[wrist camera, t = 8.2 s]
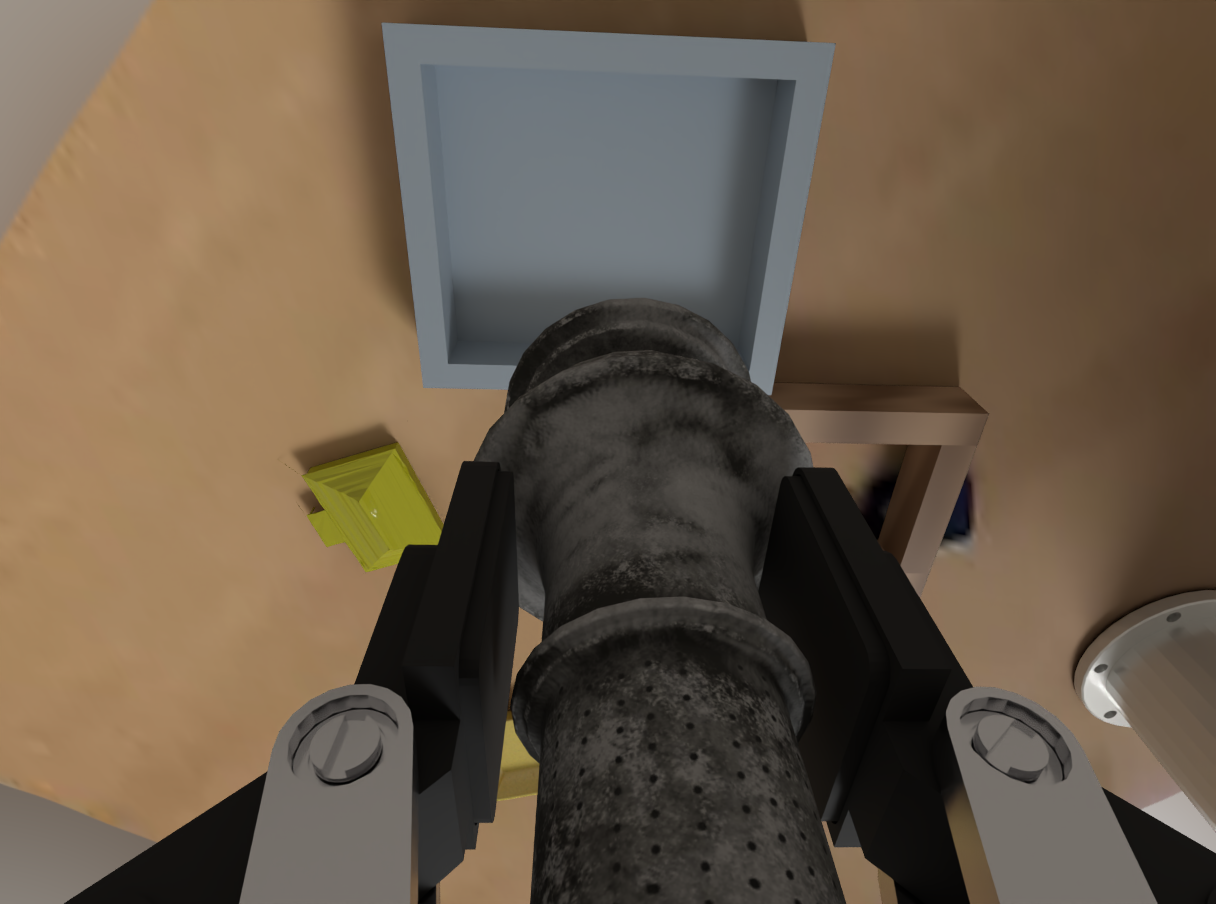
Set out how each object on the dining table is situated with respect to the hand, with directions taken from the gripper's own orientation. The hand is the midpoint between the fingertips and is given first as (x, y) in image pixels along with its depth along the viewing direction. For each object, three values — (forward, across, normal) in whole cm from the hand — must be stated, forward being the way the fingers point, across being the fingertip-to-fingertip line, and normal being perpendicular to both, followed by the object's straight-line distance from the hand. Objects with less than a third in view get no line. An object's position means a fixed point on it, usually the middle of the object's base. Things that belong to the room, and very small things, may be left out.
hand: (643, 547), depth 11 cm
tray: (+23, 0, 0) cm, 23 cm away
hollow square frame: (+23, -13, +14) cm, 30 cm away
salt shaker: (+5, 0, 0) cm, 5 cm away
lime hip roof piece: (+24, +12, +16) cm, 32 cm away
